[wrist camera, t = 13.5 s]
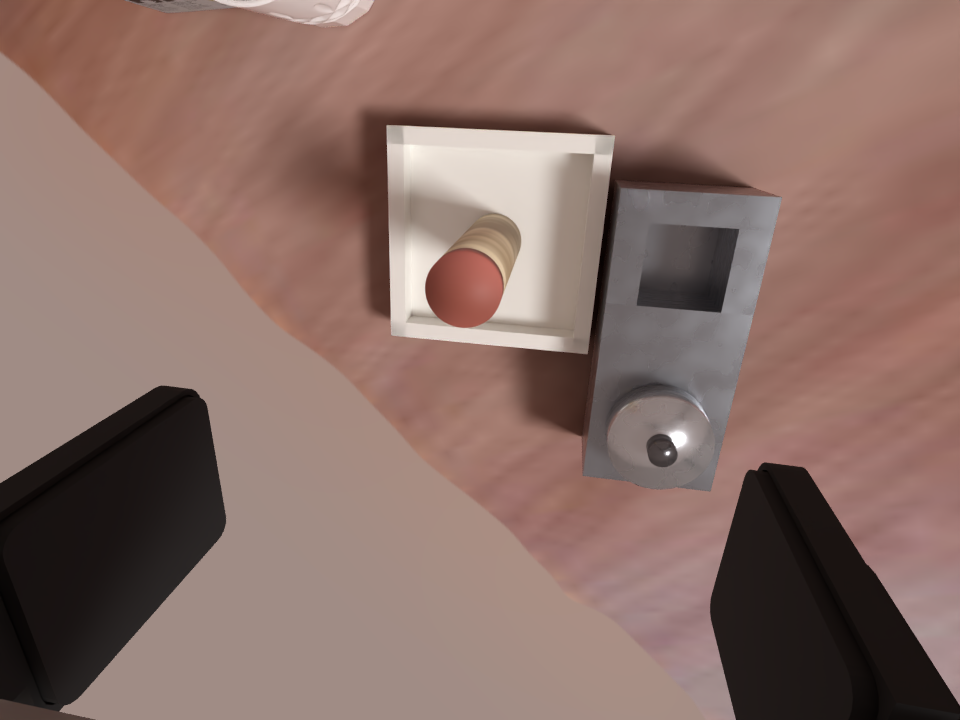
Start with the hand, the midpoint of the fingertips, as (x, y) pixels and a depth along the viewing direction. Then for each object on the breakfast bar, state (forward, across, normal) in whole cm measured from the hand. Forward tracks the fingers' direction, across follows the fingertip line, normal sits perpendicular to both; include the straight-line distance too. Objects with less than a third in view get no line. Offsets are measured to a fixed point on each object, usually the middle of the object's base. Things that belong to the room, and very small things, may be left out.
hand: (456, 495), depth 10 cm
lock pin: (+27, +3, +1) cm, 28 cm away
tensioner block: (+29, -8, +6) cm, 30 cm away
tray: (+28, +3, +1) cm, 29 cm away
